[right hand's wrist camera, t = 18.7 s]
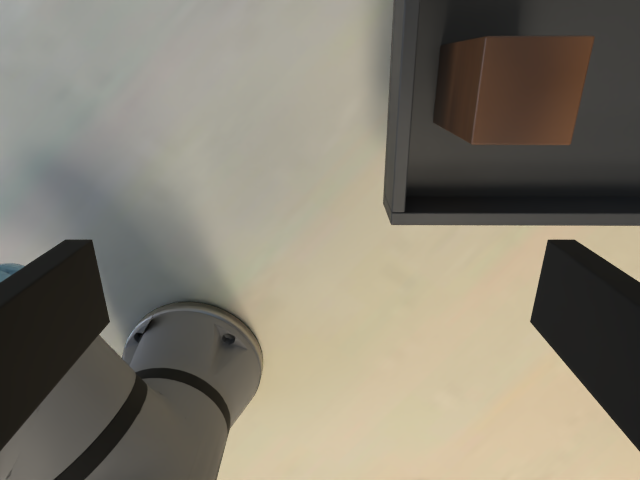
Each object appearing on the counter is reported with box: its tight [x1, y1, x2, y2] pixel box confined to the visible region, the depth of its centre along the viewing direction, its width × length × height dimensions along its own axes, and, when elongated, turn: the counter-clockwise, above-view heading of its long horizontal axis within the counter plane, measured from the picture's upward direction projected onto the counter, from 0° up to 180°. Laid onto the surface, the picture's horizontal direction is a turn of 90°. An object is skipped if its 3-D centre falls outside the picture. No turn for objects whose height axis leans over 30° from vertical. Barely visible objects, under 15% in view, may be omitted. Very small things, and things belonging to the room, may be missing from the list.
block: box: [433, 36, 595, 145], centre depth 22 cm, size 4×4×8 cm
